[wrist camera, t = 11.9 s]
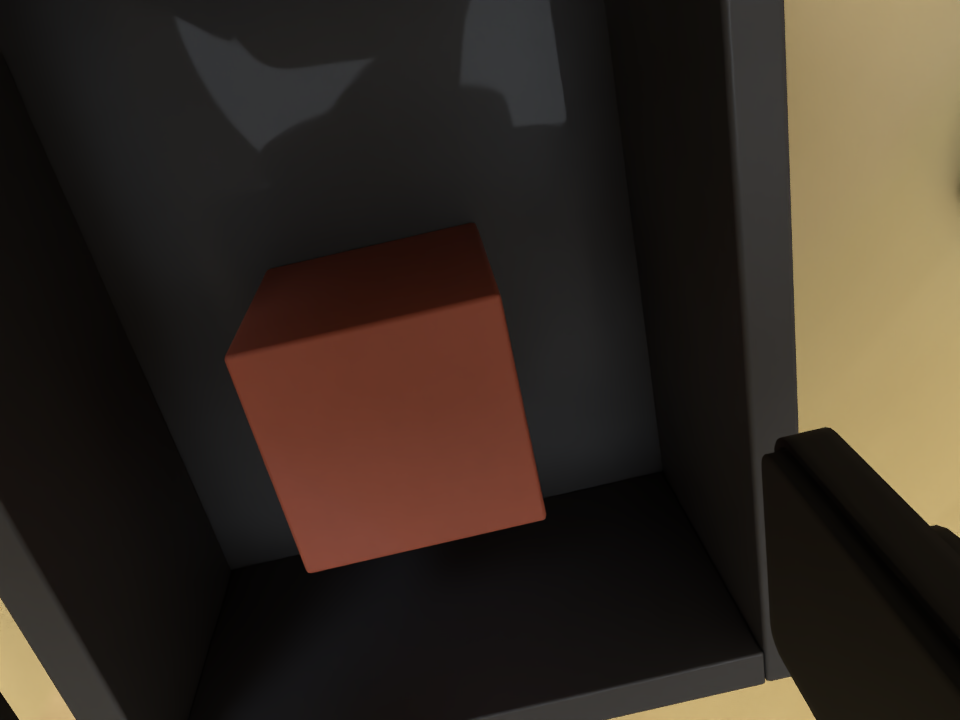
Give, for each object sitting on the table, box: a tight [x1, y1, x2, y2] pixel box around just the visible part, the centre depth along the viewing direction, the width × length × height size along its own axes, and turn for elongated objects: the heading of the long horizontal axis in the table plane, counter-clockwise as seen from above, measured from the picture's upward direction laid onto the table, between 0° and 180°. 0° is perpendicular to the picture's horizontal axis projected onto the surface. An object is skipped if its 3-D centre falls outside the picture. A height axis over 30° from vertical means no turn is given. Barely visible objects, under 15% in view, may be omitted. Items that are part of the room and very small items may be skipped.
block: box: [225, 223, 546, 573], centre depth 15 cm, size 4×4×4 cm
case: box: [0, 0, 798, 720], centre depth 14 cm, size 16×13×7 cm
